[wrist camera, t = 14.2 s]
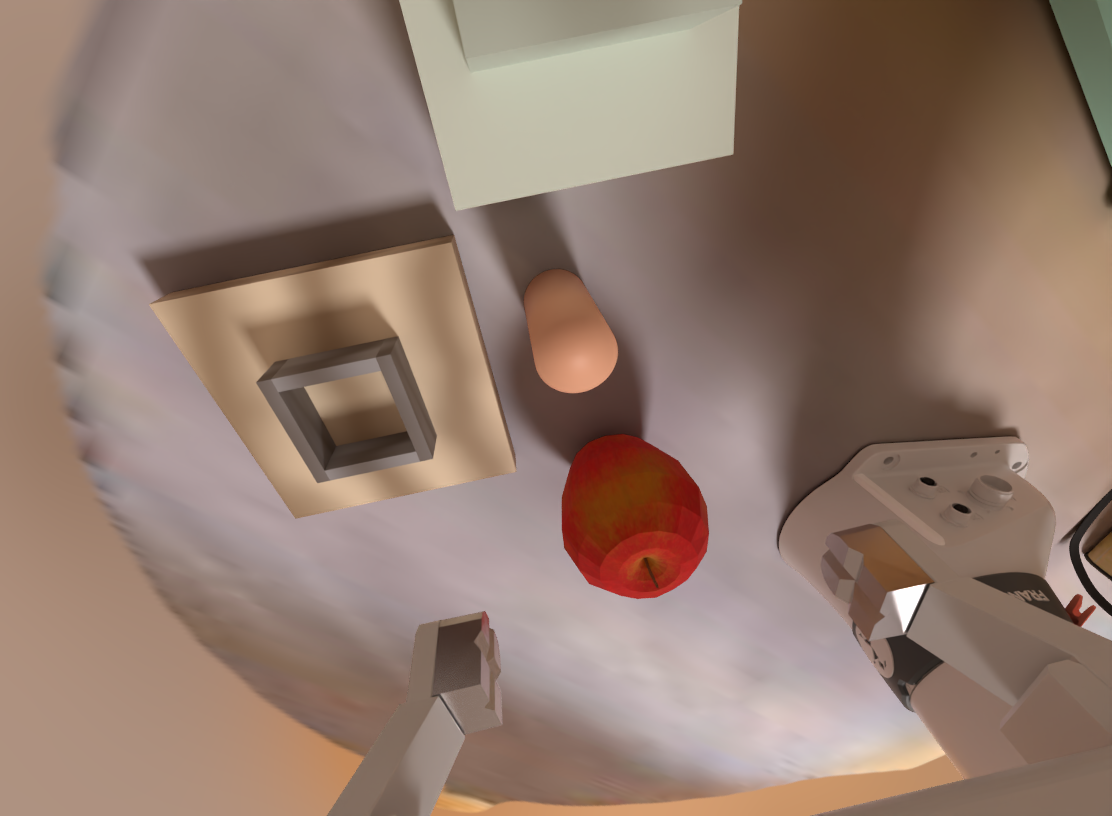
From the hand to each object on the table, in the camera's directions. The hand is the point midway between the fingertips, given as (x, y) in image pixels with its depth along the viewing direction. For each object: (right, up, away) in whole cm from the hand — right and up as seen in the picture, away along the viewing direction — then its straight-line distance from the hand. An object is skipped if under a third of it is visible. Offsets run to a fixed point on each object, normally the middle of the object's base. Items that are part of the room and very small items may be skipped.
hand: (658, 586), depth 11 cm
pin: (-2, +11, +18) cm, 21 cm away
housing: (-3, +22, +11) cm, 24 cm away
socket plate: (-15, +6, +19) cm, 25 cm away
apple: (+2, +1, +25) cm, 25 cm away
